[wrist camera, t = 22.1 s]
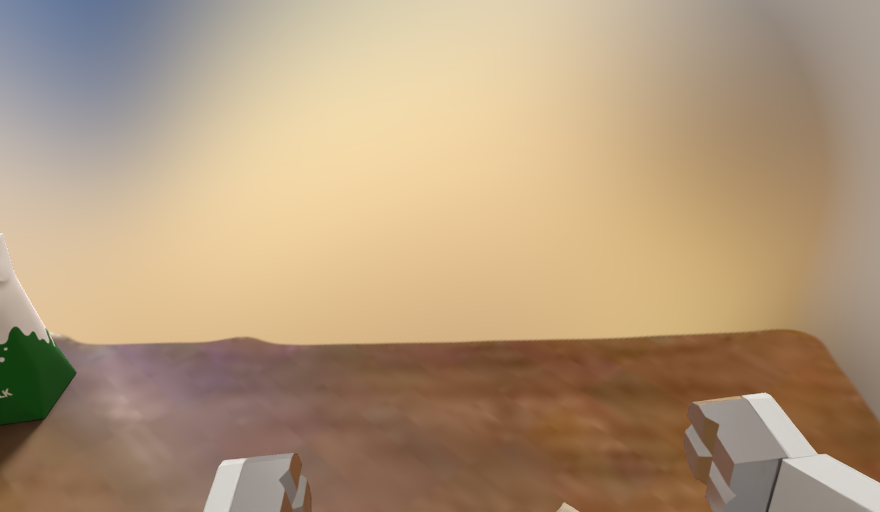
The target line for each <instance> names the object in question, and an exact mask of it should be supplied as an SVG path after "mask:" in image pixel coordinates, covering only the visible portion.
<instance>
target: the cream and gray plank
mask: <svg viewBox="0 0 880 512" xmlns="http://www.w3.org/2000/svg"><path fill="white" fill-rule="evenodd" d="M557 512H579V511H577V510H575V509H574V508H572V507H571V506H569V505H567V504H566V503H563V505H562V506H561V507H560V508H559V510H558V511H557Z"/></svg>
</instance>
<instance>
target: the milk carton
mask: <svg viewBox="0 0 880 512" xmlns="http://www.w3.org/2000/svg"><path fill="white" fill-rule="evenodd" d="M75 374H76V371H75V370H74V368H73V367H72V366H71V364H70V363H69V362H68V360H67V359H66V357H65V356H64V355H63V353H62V352H61V351H60V349H59V348H58V347H57V345H56V344H55V342H54V341H53V340H52V338H51V336H50V334H49V333H48V331H47V329H46V328H45V326H44V324H43V322H42V321H41V319H40V317H39V315H38V314H37V312H36V310H35V308H34V307H33V305H32V303H31V302H30V300H29V298H28V296H27V294H26V293H25V291H24V289H23V288H22V286H21V284H20V282H19V281H18V279H17V277H16V275H15V272H14V269H13V266H12V262H11V259H10V256H9V252H8V249H7V245H6V242H5V239H4V235H3V233H0V425H2V424H9V423H17V422H24V421H31V420H39V419H44V418H45V417H46V415H47V414H48V413H49V411H50V410H51V408H52V407H53V405H54V404H55V403H56V401H57V400H58V398H59V397H60V395H61V394H62V393H63V391H64V390H65V388H66V387H67V385H68V384H69V383H70V381H71V380H72V378H73V377H74V375H75Z"/></svg>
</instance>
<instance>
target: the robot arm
mask: <svg viewBox="0 0 880 512" xmlns="http://www.w3.org/2000/svg"><path fill="white" fill-rule="evenodd" d="M687 417H688V418H689V420H690V422H691V424H692V425H691V426H690V427H689V428H688V429H687V430H686V431H685V437H684V447H685V454H686V458H687V461H688V464H689V467H690V469H691V471H692V473H693V475H694V476H695V478H696V479H698V480H699V481H701V482H702V483H704V484H705V485H707V490H706V496H705V497H706V499H707V501H708V503H709V505H710V507H711V508H712V510H713V512H880V483H879V482H877V481H875V480H873V479H871V478H869V477H867V476H866V475H864V474H862V473H860V472H858V471H856V470H854V469H853V468H851V467H849V466H847V465H845V464H843V463H842V462H840V461H838V460H836V459H834V458H832V457H830V456H829V455H827V454H820V455H818V454H817V453H816V451H815V450H814V449H813V448H812V446H811V445H810V444H809V443H808V441H807V440H806V439H805V438H804V436H803V435H802V434H801V433H800V431H799V430H798V429H797V428H796V426H795V425H794V424H793V423H792V421H791V420H790V419H789V418H788V416H787V415H786V414H785V413H784V411H783V410H782V409H781V408H780V406H779V405H778V404H777V403H776V401H775V400H774V399H773V398H772V396H770V395H769V394H767V393H760V394H752V395H744V396H740V397H739V396H735V397H728V398H721V399H713V400H706V401H699V402H692V403H691V405H690V406H689V408H688V414H687ZM301 467H302V463H301V461H300V458H299V456H298V454H297V453H290V454H279V455H269V456H259V457H249V458H243V459H233V460H224V461H223V462H222V463H221V465H220V466H219V467H218V469H217V472H216V475H215V478H214V481H213V484H212V487H211V490H210V493H209V496H208V499H207V502H206V505H205V508H204V511H203V512H312V509H311V492H310V487H309V484H308V480H307V479H306V478H305V477H303V476H302V475H300V473H301Z"/></svg>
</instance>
